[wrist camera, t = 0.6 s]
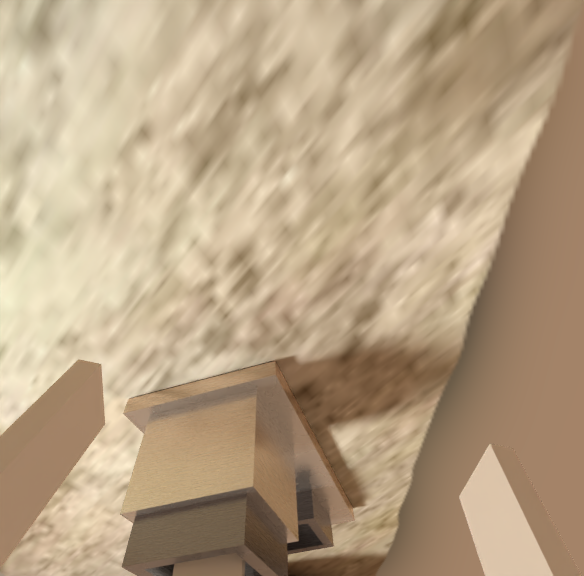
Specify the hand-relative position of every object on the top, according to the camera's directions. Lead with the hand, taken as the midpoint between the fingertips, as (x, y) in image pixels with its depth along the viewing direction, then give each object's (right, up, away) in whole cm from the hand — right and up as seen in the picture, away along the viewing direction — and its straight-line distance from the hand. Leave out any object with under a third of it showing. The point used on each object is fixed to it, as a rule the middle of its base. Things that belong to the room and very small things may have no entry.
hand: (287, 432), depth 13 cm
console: (-3, -14, +28) cm, 32 cm away
